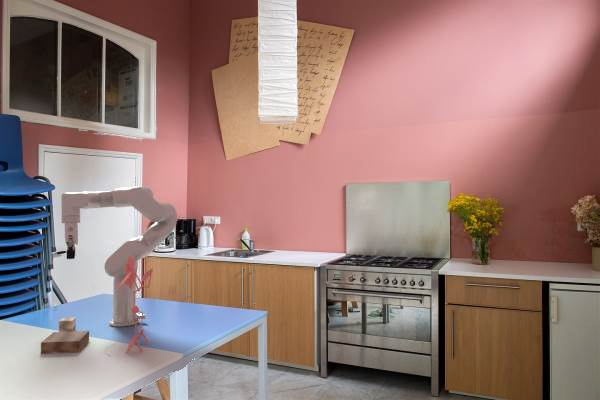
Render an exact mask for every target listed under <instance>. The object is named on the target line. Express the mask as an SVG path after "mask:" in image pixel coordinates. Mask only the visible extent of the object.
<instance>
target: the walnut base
mask: <svg viewBox="0 0 600 400" xmlns="http://www.w3.org/2000/svg"><path fill="white" fill-rule="evenodd" d="M88 341H90V330H76V331H70V332H59V331H54V332H52V333H50V334H49V335H48V336H47V337H46V338H44V339H43V340H42V341H41V342H40V354H42V353H44V354H60V353H61V354H62V353H63V354H64V353H65V352H66V354H67V353H80V352H81V350H82V349H83V348H85V346H86V345H87V344H88V343H89V342H88ZM87 342H88V343H87ZM86 343H87V344H86ZM85 344H86V345H85Z"/></svg>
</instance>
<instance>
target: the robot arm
mask: <svg viewBox="0 0 600 400" xmlns="http://www.w3.org/2000/svg"><path fill="white" fill-rule="evenodd" d="M113 207H114V208H127V207H128V208H129V207H130V208H131V207H133V209H135V210H136V211H137V212H138V213H140V214H141V215H142V216H144V217H145V218H146V219H147V220H149V221H150V222H152V223H153V224H152V225H151V226H149V227H148V228H147V229H146V230H145V231H144V232H143V233H142V234H140V236H136V237H133V238H131V239H128V240H126V241H125V242H124V243H123V244H121V246H120V247H119V248H117V249H116V250H115V251H114V252H113V253H112V254H111V255H109V257H107V259H106V260H105V262H104V271H105V272H104V273H106V275H107V276H109V277H112V278H113V286H112V287H113V288H112V289H113V290H112V292H113V294H112V301H113V302H112V306H113V307H112V319H111V320H109V322H108V324H109V325H110V326H112V327H130V326H134V325H136V318H137V324H138V323H140V319H141V320H142V313H138V312H137V313H135V316H136V318H135V316H134V313H133V312H132V311H131V309H132V307H133V306H134V295H133V293H134V291H136V290H137V288H136V285H135V283H134V281H133V286H132V288H131V289H130V287H129V284H128V285H127V286H126V285H125V283H126V282H125V283H124V284H123V285H122V286H121V287H120V288H119V289H118V287H119V285H120V283H121V282H122V281H123V279H124V278H125V277H126V272H125V264H127V265H128V257H129V256H130V255H131V260H132V259H133V258H135V266H134V268H135V271H136V274H137V273H138V268H139V266H138V265H139V260H142V259H145V258H147V257H149V255H150V254H152V252H153V251H155V249H157V247H158V246H159V245H161V244H162V242H164V241H165V240H166V239H167V238H168V237H169V236H170V235H171V233H173V231H174V230H175V227H176V226H177V223H178V222H177V221H178V213H177V209H176V208H175V206H174V205H173V204H172V203H169V202H159V201H158V200H156V199H155V198H154V193H153V190H152V189H151V188H149V187H148V186H138V185H137V186H132V187H120V188H119V187H118V188H117V187H116V188H115V189H113V190H108V191H107V190H106V191H81V192H72V191H71V192H66V191H65V192H63V193H62V194H61V224H64V239H65V240H64V241H65V242H64V243H65V245H66V260H74V259H75V257H76V247H75V246H77V245H78V244H79V228H78V227H79V226H78V224H80V223H81V209H84V210H87V209H101V208H113ZM137 275H138V274H137ZM135 281H136V282H137V278H136V279H135ZM136 301H137V292H135V306H137V302H136ZM145 319H147V315H146V314H145V313H143V320H145Z"/></svg>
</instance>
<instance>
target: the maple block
mask: <svg viewBox="0 0 600 400" xmlns="http://www.w3.org/2000/svg"><path fill="white" fill-rule="evenodd" d="M76 321H77V318H76V317H63V318H61V319H59V321H58V332H70V331H77V328H76V327H77V322H76Z"/></svg>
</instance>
